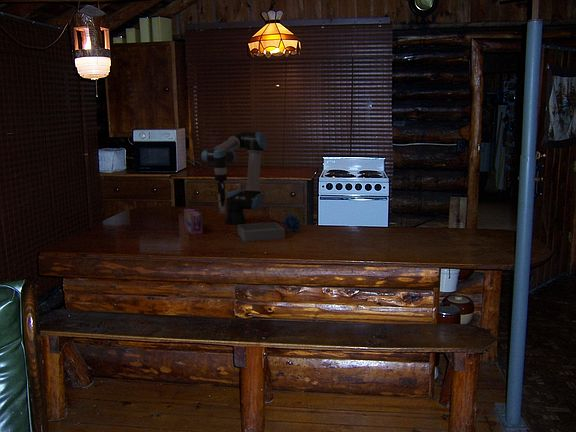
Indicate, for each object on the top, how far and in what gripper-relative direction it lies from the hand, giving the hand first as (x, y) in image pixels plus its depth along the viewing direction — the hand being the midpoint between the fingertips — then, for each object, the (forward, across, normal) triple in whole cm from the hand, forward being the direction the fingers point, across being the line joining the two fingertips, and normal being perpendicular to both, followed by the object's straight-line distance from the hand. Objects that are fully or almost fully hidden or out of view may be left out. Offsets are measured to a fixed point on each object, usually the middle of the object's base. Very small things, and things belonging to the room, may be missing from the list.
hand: (222, 210), depth 365 cm
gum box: (+18, -24, -16) cm, 34 cm away
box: (+17, +5, +24) cm, 30 cm away
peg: (+2, 0, 0) cm, 2 cm away
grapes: (+18, +1, +46) cm, 49 cm away
